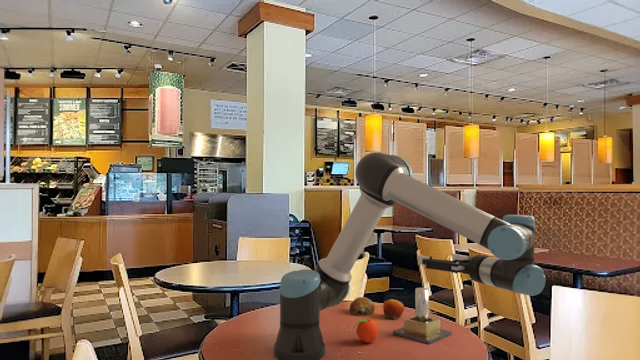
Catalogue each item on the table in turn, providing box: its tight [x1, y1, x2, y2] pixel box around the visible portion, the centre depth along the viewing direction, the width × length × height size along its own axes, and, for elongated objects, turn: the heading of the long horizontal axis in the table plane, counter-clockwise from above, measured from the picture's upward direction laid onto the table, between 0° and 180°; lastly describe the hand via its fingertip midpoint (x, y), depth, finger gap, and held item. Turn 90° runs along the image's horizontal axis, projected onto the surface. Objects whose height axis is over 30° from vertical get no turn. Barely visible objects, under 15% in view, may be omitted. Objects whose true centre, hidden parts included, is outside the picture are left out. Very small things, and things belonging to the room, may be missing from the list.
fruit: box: [382, 298, 405, 320], centre depth 169 cm, size 8×8×8 cm
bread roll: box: [349, 296, 376, 317], centre depth 176 cm, size 10×10×8 cm
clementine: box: [353, 319, 379, 344], centre depth 140 cm, size 8×7×7 cm
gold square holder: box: [392, 315, 453, 345], centre depth 149 cm, size 14×14×5 cm
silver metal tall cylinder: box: [414, 287, 430, 323], centre depth 149 cm, size 5×5×14 cm
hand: (436, 258), depth 139 cm, fingers open, 13 cm apart
